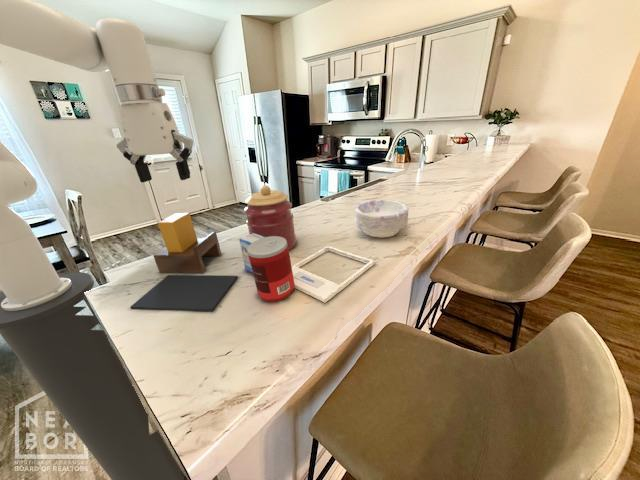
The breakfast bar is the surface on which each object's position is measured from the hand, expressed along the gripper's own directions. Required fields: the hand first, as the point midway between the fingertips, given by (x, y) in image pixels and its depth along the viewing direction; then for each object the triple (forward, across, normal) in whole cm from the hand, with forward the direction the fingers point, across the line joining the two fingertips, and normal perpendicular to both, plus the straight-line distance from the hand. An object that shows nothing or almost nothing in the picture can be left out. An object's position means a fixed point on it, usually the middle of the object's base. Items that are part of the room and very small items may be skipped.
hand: (166, 180), depth 61 cm
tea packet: (+17, +1, 0) cm, 17 cm away
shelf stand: (+22, 0, 0) cm, 22 cm away
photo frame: (+22, -37, +6) cm, 43 cm away
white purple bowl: (+22, -52, -16) cm, 59 cm away
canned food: (+22, -26, +13) cm, 37 cm away
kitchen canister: (+22, -21, -9) cm, 32 cm away
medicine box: (+22, -21, +5) cm, 31 cm away
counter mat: (+22, -6, +13) cm, 27 cm away
